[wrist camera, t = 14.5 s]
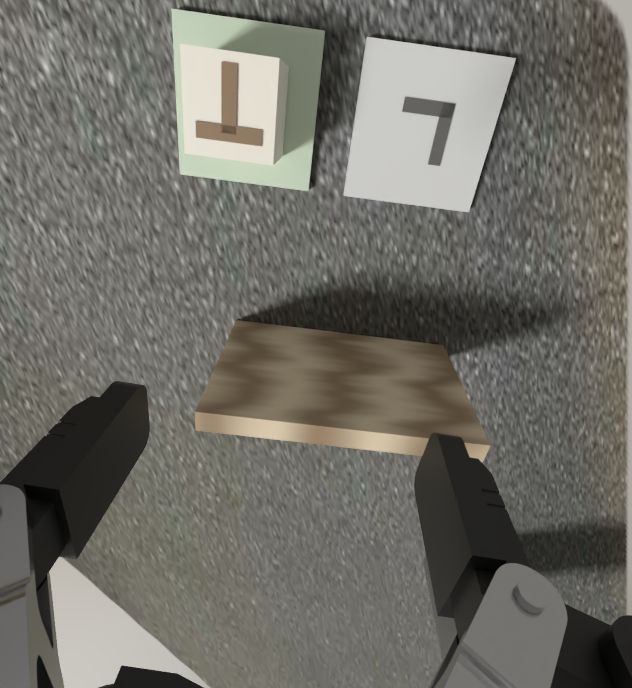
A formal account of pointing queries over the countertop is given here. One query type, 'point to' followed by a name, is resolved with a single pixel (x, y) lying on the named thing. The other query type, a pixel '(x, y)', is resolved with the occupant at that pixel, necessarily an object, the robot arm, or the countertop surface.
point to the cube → (233, 104)
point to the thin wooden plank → (337, 391)
